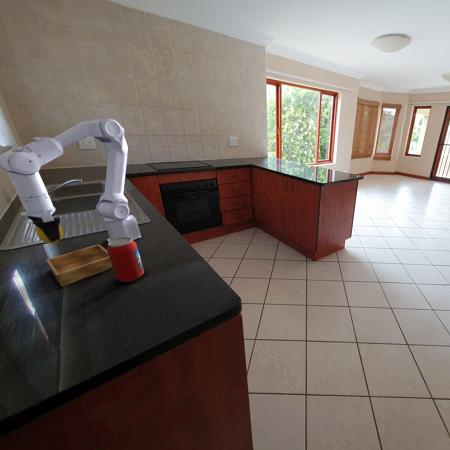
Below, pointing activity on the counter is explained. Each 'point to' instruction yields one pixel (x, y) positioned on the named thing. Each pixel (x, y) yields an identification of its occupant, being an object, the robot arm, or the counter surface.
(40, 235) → the lemon
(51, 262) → the wooden tray
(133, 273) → the beverage can
